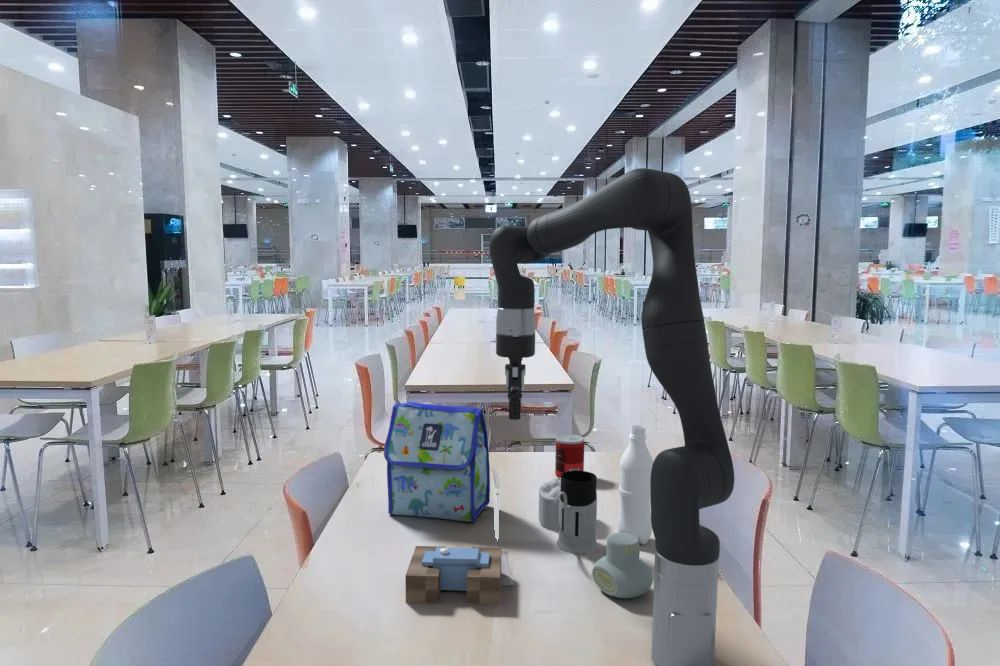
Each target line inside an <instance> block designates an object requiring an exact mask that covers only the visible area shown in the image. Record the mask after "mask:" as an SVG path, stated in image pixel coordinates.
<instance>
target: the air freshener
mask: <svg viewBox="0 0 1000 666" xmlns="http://www.w3.org/2000/svg"><path fill="white" fill-rule="evenodd" d="M640 547H641V543H640V540H639V539H638V538H637V537H636V536H634V535H632V534H628V533H619V532H615V533H612V534H609V536H607V538H606V554H605V555H604V556H602V557H600V558H599V559H598V560H597V561H596V562H595V563H594V565H593V566H592V571H591V575H592V579H593V581H594V583H595V584H596V586H597V587H598V589H600V591H602V592H603V593H605V594H606V595H608V596H610V597H612V596H613V597H614V598H616V599H617V598H618V599H634V598H637V597H639V596H642V595H644V594H645V593H647V592H648V591H649V590H650V588H652V585H653V583H654V573H653V572H652V569H651V568H650V567H649V565H648V564H647V563H646V562H645V561H644V560H643V559H641V558H640V554H641V553H640V551H641V549H640ZM613 597H612V598H613Z"/></svg>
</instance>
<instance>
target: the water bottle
mask: <svg viewBox="0 0 1000 666" xmlns="http://www.w3.org/2000/svg"><path fill="white" fill-rule="evenodd" d="M628 437H629V443H628V445H627V447H626V449H625V450H624V452H623V454H622V456H621V458H620V462H619V486H618V491H619V496H620V511H619V516H618V520H617V530H618V532H617V533H628V534H632V535H634V536H636V537H637V538H638V539H639V540H640V545H646V544H647V543H648V542H649V540H650V538H651V536H652V533H653V530H652V525H651V492H650V479H651V470H652V465H653V462H654V460H653V456H652V455H651V453H650V450H649V448H648V447H647V444H646V440H647V435H646V426H644V425H638V424H634V425H631V426H630V433H629V436H628Z"/></svg>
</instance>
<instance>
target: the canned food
mask: <svg viewBox="0 0 1000 666" xmlns="http://www.w3.org/2000/svg"><path fill="white" fill-rule="evenodd" d="M567 471H585V437H583V436H581V435H580V434H579V435H578V434H561V435H558V436H556V439H555V469H554V473H555V477H556V476H557V477H559V478H561V474H562V473H564V472H567ZM557 477H556V478H557Z"/></svg>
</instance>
